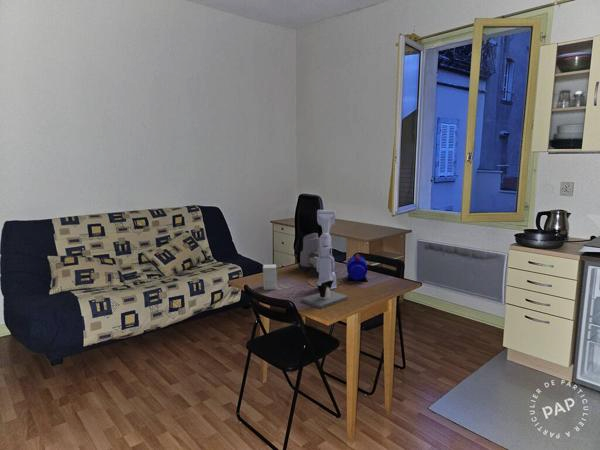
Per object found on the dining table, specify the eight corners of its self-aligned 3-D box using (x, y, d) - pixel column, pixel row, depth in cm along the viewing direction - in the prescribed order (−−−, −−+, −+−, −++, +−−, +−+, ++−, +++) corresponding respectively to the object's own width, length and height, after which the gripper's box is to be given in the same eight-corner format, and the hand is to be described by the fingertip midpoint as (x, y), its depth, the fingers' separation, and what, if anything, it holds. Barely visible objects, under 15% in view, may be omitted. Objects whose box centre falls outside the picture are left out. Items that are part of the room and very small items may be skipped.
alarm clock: (366, 276, 255) (367, 252, 252) (368, 282, 243) (368, 257, 240) (346, 276, 256) (347, 252, 253) (346, 282, 244) (347, 257, 241)
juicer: (292, 267, 276) (292, 231, 272) (312, 263, 285) (312, 228, 281) (318, 278, 251) (319, 238, 247) (339, 274, 260) (340, 235, 256)
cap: (319, 295, 216) (319, 286, 215) (329, 295, 216) (329, 286, 215) (319, 298, 211) (319, 289, 210) (329, 298, 211) (329, 289, 210)
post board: (328, 292, 226) (328, 283, 225) (348, 298, 215) (348, 289, 215) (301, 301, 212) (301, 291, 211) (320, 308, 202) (320, 298, 201)
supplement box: (276, 285, 238) (276, 264, 235) (276, 289, 230) (276, 267, 228) (263, 285, 237) (263, 264, 235) (263, 289, 230) (262, 267, 228)
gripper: (326, 274, 203) (325, 301, 205) (338, 267, 215) (337, 292, 218) (313, 272, 206) (313, 298, 209) (325, 265, 219) (325, 290, 221)
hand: (324, 295), depth 213 cm, fingers closed on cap, 5 cm apart
